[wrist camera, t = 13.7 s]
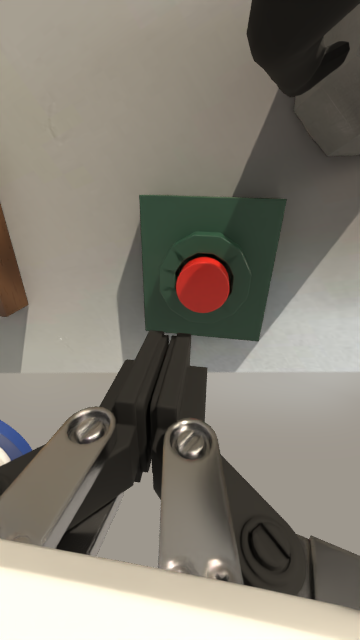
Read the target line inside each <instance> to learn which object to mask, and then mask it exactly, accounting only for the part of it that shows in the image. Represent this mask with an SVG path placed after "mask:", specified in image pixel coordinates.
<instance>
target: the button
mask: <svg viewBox="0 0 360 640" xmlns="http://www.w3.org/2000/svg"><path fill="white" fill-rule="evenodd" d="M229 288H230V287H229V277H228V273H227V270H226V269H225V267H224V266H223V265H222V264H221V263H220V262H219V261H218V260H216V259H214V258H211V257H197V258H194V259H192V260H190V261H189V262H188V263H186V265H185V266H184V267H183V269H182V270H181V272H180V274H179V276H178V279H177V282H176V293H177V296H178V298H179V300H180V302H181V303H182V304H183V305H184V306H185V307H186V308H188V309H190V310H191V311H194V312H198V313H208V312H212V311H214V310H216V309H218V308H219V307H221V306H222V305H223V304H224V302H225V301H226V299H227V297H228V295H229Z"/></svg>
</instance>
